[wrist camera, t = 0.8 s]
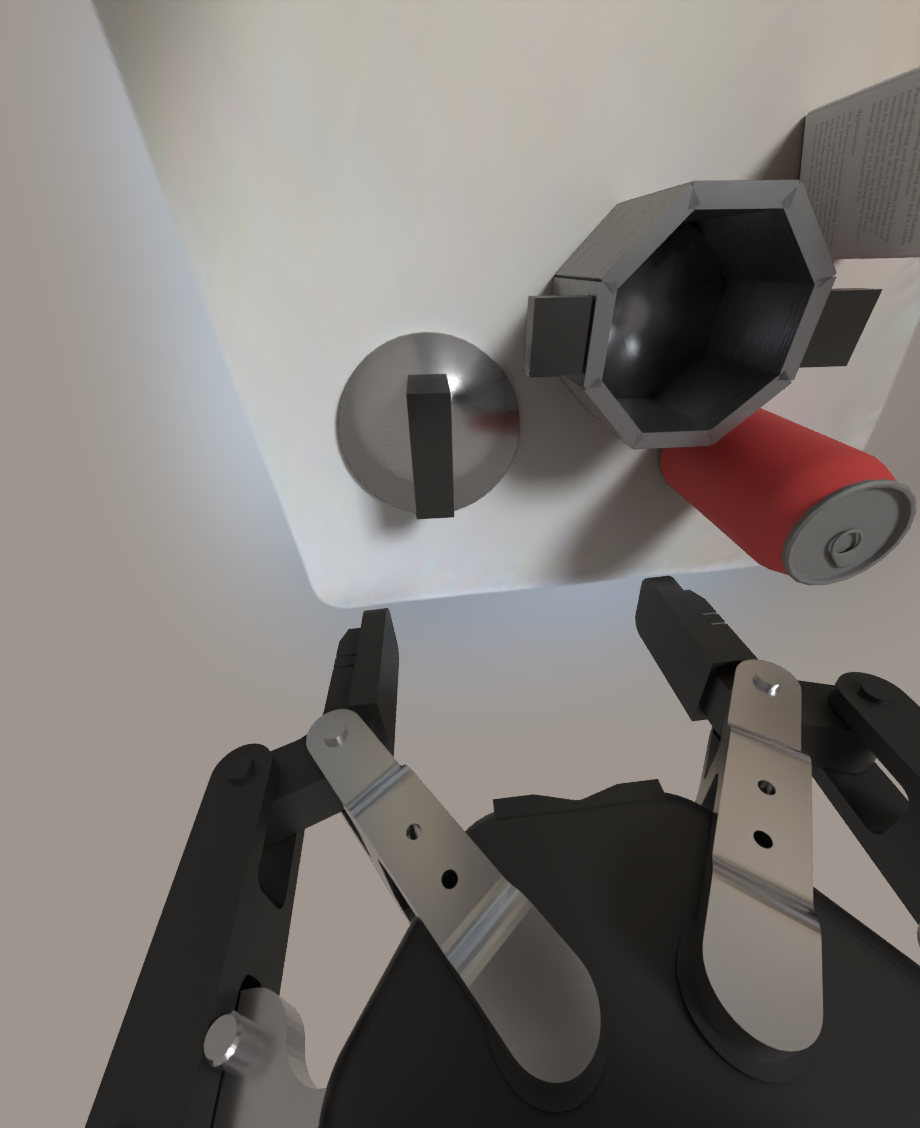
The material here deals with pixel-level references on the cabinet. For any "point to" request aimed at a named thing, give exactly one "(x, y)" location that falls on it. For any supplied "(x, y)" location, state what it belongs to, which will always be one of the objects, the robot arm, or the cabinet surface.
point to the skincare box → (867, 170)
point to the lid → (428, 423)
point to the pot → (694, 310)
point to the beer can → (794, 498)
